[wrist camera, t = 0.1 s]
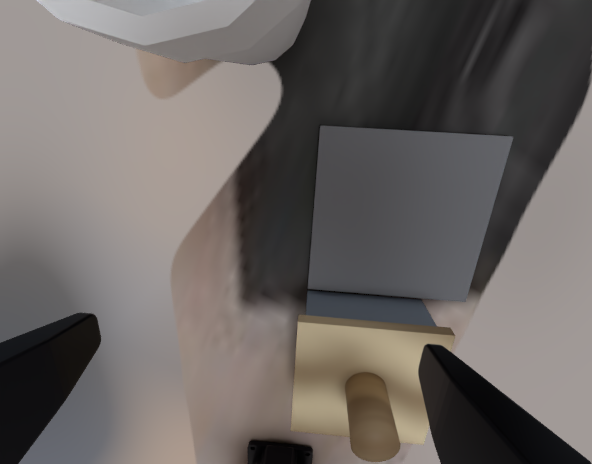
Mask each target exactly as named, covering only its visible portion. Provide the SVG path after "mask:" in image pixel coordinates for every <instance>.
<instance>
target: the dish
mask: <svg viewBox="0 0 592 464" xmlns="http://www.w3.org/2000/svg"><path fill="white" fill-rule="evenodd" d="M306 315H310V316H321V317H333V318H344V319H356V320H367V321H379V322H390V323H402V324H413V325H425V326H436V324H435V322H434V321H433V319H432V317H431V316H430V314H429V312H428V310H427V309H426V307H425V305H424V303H423V302H422V300H417V299H405V298H393V297H381V296H369V295H357V294H345V293H333V292H321V291H309V290H308V291H307V304H306ZM436 327H437V326H436Z"/></svg>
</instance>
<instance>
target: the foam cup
mask: <svg viewBox="0 0 592 464" xmlns="http://www.w3.org/2000/svg"><path fill="white" fill-rule="evenodd" d="M37 1H38V2H39V3H40V4H41V5H42V6H44V7H45V8H46V9H47V10H48V11H49V12H51V13H52V14H53V15H54V16H55V17H56V18H57V19H59V20H61V21H63V22H66V23H68V24H71V25H74V26H76V27H79V28H81V29H84V30H86V31H89V32H92V33H94V34H97V35H99V36H102V37H104V38H107V39H110V40H112V41H115V42H117V43H120V44H124V45H127V46H130V47H133V48H137V49H140V50H143V51H146V52H150V53H153V54H156V55H160V56H163V57H166V58H170V59H173V60H176V61H180V62H183V63H187V62H192V61H196V60H201V59H210V60H218V61H225V62H233V63H240V64H247V65H255V64H260V63H265V62H269V61H274V60H276V59H277V58H278V57H279V56H281V55H282V54H283V53H284V52H285V51H286V50H288V49H289V48H290V47H291V46H292V45H293V44H294V42H295V40H296V38H297V36H298V34H299V31H300V29H301V27H302V25H303V23H304V21H305V18H306V15H307V12H308V8H309V5H310V1H311V0H37Z"/></svg>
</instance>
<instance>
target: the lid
mask: <svg viewBox="0 0 592 464" xmlns="http://www.w3.org/2000/svg"><path fill="white" fill-rule="evenodd" d="M454 339H455V335H454V333H453V331H452V330H451V328H447V327H436V326H425V325H413V324H402V323H390V322H379V321H367V320H356V319H344V318H333V317H321V316H310V315H299V316H298V328H297V343H296V358H295V372H294V387H293V402H292V417H291V431H296V432H306V433H315V434H325V435H335V436H344V437H350V443H351V449H352V451H353V453H354V454H355V455H356V456H358V457H359V458H361V459H363V460H366V461H370V462H381V461H386V460H389V459H391V458H392V457H394V456H395V455H396V454H397V453H398V452H399V449H400V442H401V443H411V444H421V445H423V444H424V442H425V438H426V434H427V431H428V428H429V421H428V416H427V412H426V408H425V403H424V399H423V394H422V390H421V385H420V381H419V376H418V368H419V363H420V359H421V355H422V351H423V348H424V346H425V345H426V344H437V345H442V346H444V347H445V348H446V349H448V350H449V351H450V352H451V349H452V345H453V342H454Z"/></svg>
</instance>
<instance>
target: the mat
mask: <svg viewBox="0 0 592 464" xmlns="http://www.w3.org/2000/svg"><path fill="white" fill-rule="evenodd" d="M512 140H513V137H511V136H495V135H478V134H461V133H443V132H426V131H409V130H392V129H374V128H357V127H340V126H323V125H320V135H319V148H318V161H317V174H316V187H315V200H314V213H313V226H312V239H311V252H310V265H309V278H308V289H316V290H328V291H340V292H352V293H364V294H376V295H388V296H400V297H412V298H424V299H436V300H448V301H460V302H466V298H467V295H468V291H469V288H470V284H471V281H472V278H473V274H474V271H475V267H476V264H477V260H478V257H479V254H480V250H481V247H482V243H483V240H484V236H485V233H486V230H487V226H488V223H489V219H490V216H491V212H492V209H493V205H494V202H495V199H496V195H497V192H498V188H499V185H500V181H501V178H502V175H503V171H504V168H505V164H506V161H507V157H508V154H509V151H510V147H511V144H512Z"/></svg>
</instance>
